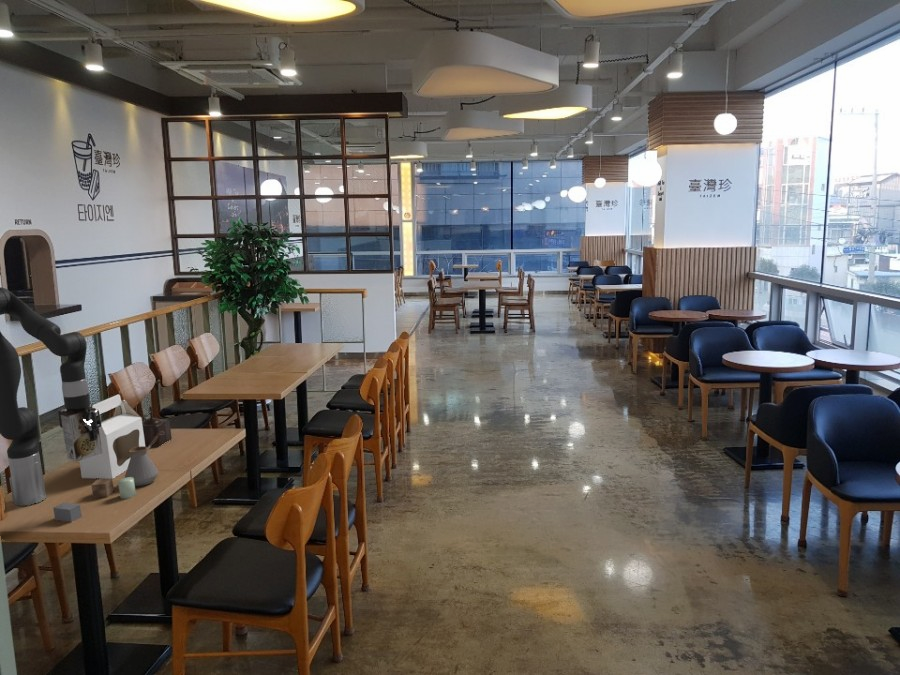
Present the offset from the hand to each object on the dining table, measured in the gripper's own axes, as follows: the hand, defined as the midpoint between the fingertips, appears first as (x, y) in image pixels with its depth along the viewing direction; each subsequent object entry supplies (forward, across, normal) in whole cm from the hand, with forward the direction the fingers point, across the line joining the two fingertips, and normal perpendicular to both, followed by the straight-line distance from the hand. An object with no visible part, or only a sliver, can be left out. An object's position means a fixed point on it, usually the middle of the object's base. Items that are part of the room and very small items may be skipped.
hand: (82, 440), depth 230 cm
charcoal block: (+24, -2, -9) cm, 26 cm away
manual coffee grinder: (+24, -21, +60) cm, 68 cm away
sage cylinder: (+24, +6, +10) cm, 27 cm away
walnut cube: (+24, -4, +10) cm, 26 cm away
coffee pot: (+24, +3, +27) cm, 36 cm away
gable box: (+24, -18, +34) cm, 45 cm away
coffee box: (+6, 0, 0) cm, 6 cm away
